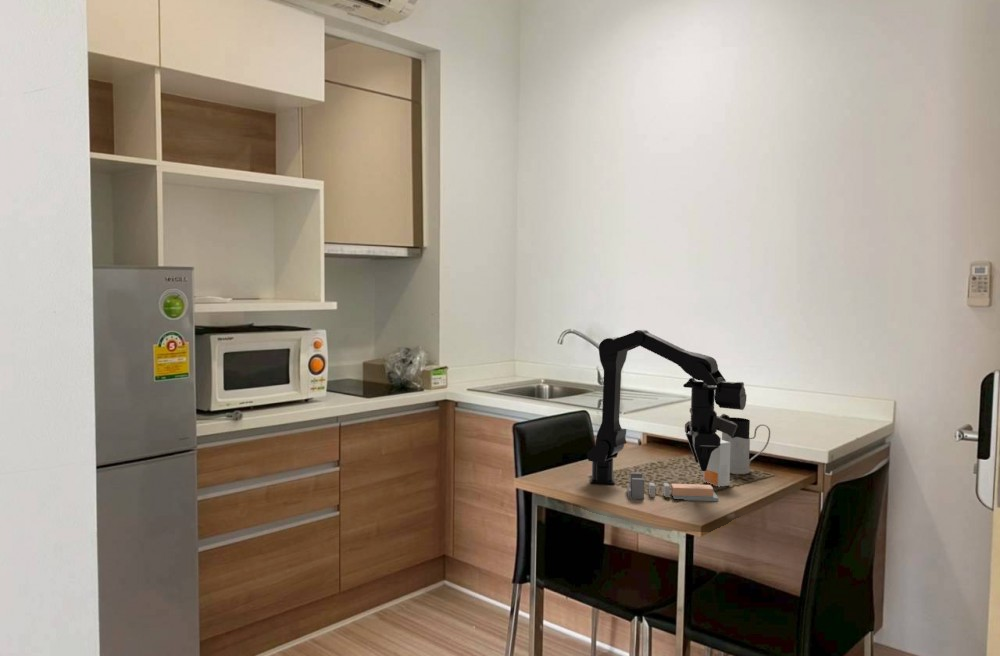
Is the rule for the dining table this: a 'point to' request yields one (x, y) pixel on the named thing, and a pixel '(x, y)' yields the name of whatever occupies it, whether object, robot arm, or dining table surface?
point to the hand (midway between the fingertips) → (700, 466)
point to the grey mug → (741, 446)
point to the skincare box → (719, 465)
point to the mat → (697, 497)
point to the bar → (692, 490)
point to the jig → (642, 487)
